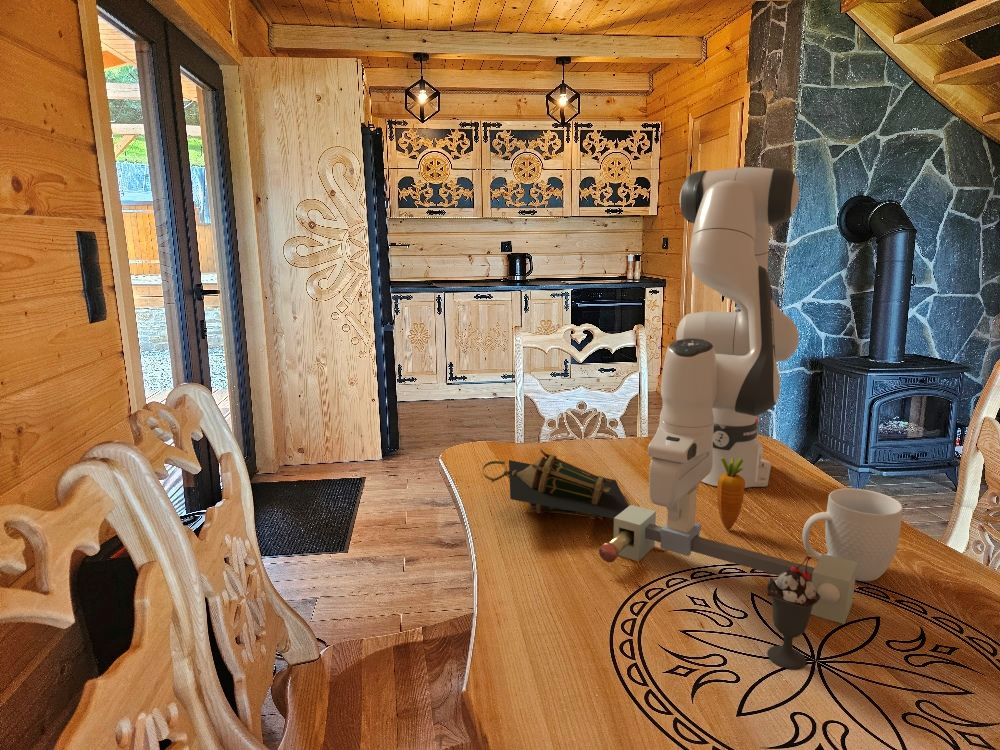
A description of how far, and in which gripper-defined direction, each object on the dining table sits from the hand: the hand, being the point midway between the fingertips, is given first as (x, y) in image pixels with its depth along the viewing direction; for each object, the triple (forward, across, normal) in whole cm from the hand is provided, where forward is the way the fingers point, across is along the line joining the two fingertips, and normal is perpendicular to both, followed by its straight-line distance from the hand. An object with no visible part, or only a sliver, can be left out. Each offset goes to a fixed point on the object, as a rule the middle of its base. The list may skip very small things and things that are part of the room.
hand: (681, 512), depth 115 cm
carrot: (+10, -18, +3) cm, 21 cm away
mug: (+10, -14, +25) cm, 30 cm away
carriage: (+6, 0, 0) cm, 6 cm away
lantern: (+10, -5, -29) cm, 31 cm away
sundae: (+10, +16, +22) cm, 29 cm away
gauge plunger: (+7, +6, -8) cm, 13 cm away
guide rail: (+10, 0, +8) cm, 12 cm away
